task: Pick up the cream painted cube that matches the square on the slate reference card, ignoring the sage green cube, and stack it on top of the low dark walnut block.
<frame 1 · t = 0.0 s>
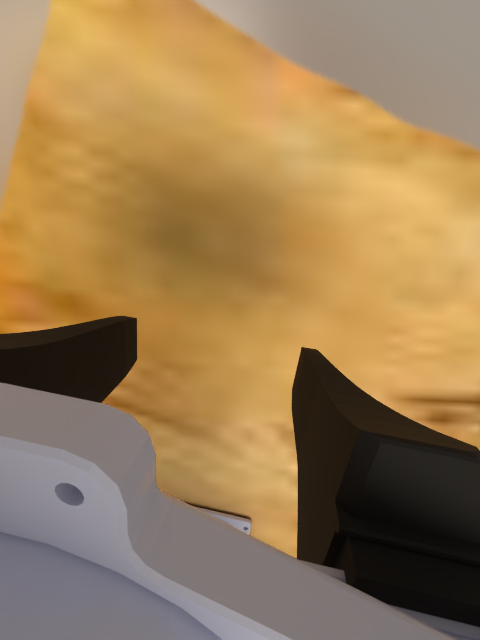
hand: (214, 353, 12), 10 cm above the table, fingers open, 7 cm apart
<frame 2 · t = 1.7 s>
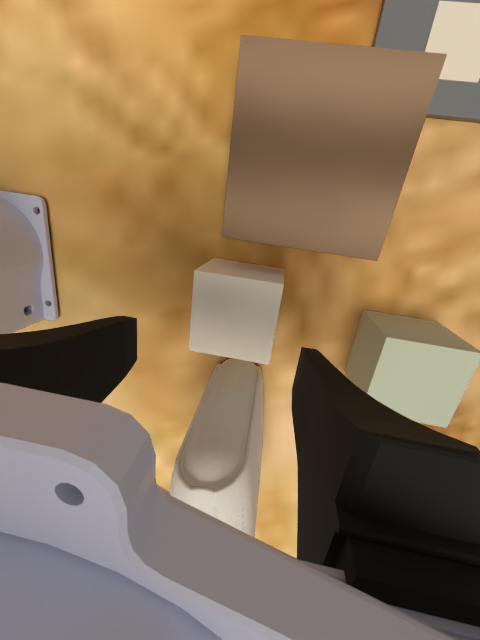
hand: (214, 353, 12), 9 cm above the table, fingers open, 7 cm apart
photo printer: (240, 407, 25), on the table
sage cube: (387, 346, 21), on the table
walnut base: (311, 164, 17), on the table, touching reference card
cream cube: (244, 296, 21), on the table
reference card: (452, 49, 15), on the table
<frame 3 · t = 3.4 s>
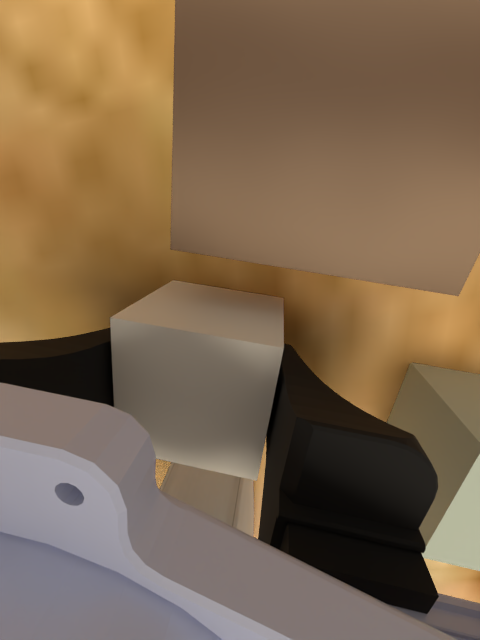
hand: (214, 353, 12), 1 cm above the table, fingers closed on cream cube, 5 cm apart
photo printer: (221, 489, 17), on the table
sage cube: (446, 417, 13), on the table
walnut base: (332, 121, 10), on the table, touching reference card
cream cube: (221, 339, 13), on the table, touching gripper
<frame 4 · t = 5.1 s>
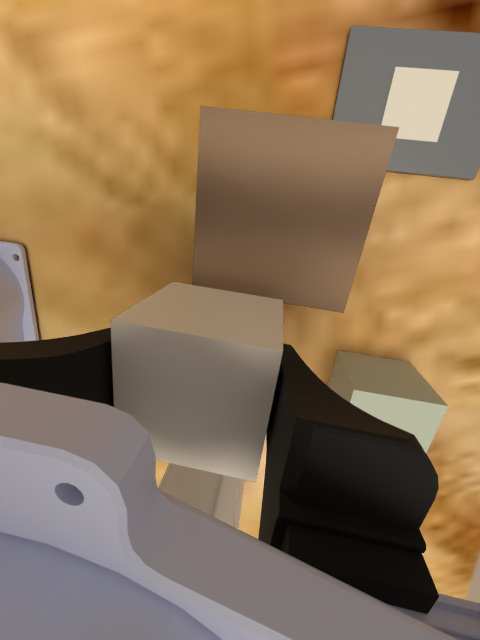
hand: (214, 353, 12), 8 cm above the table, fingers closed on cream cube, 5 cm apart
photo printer: (222, 441, 25), on the table
sage cube: (363, 385, 21), on the table
walnut base: (280, 215, 17), on the table, touching reference card
cream cube: (221, 341, 14), point 7 cm above the table, touching gripper
reference card: (411, 109, 15), on the table
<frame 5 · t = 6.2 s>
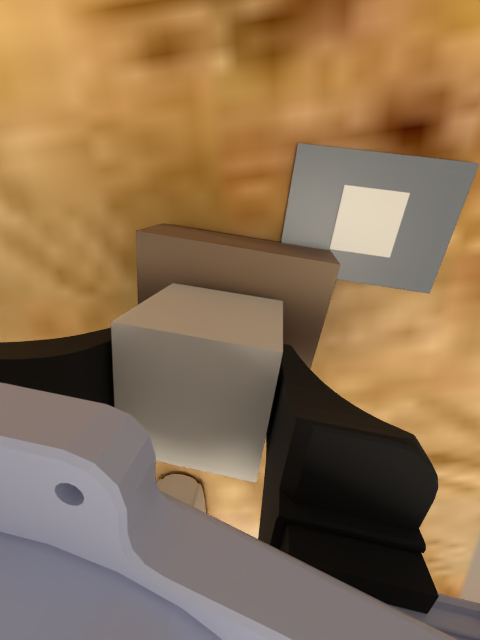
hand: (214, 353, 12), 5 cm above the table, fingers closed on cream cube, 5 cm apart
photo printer: (186, 514, 24), on the table
walnut base: (234, 314, 17), on the table, touching reference card
cream cube: (221, 342, 14), point 4 cm above the table, touching gripper
reference card: (364, 222, 14), on the table
when the fingers open (5 cm above the table, at t = 6.9 s): cream cube stays where it is, resting on walnut base.
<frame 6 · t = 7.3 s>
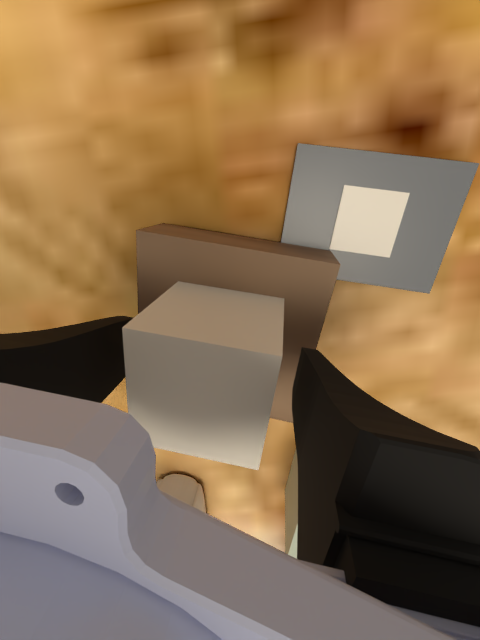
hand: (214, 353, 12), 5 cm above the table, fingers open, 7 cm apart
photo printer: (186, 514, 24), on the table
sage cube: (325, 472, 21), on the table
walnut base: (234, 313, 17), on the table, touching cream cube, reference card
cream cube: (225, 336, 14), point 3 cm above the table, touching walnut base
reference card: (364, 222, 14), on the table
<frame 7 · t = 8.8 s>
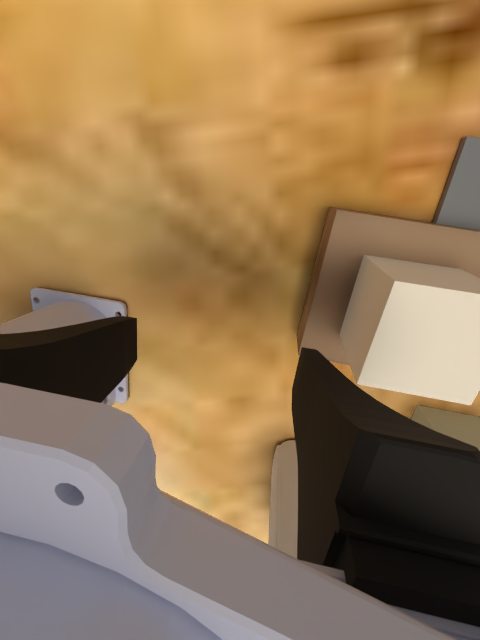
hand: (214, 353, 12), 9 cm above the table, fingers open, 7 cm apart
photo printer: (293, 479, 27), on the table
sage cube: (437, 435, 23), on the table
walnut base: (378, 288, 19), on the table, touching cream cube, reference card
cream cube: (394, 304, 16), point 3 cm above the table, touching walnut base
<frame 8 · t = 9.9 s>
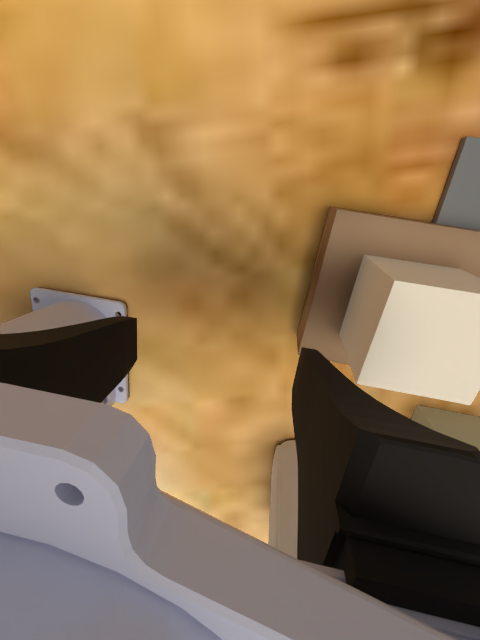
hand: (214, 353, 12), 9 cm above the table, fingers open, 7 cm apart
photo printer: (293, 479, 27), on the table
sage cube: (437, 435, 23), on the table
walnut base: (378, 288, 19), on the table, touching cream cube, reference card
cream cube: (394, 304, 16), point 3 cm above the table, touching walnut base
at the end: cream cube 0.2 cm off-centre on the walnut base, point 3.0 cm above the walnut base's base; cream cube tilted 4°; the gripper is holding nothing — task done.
